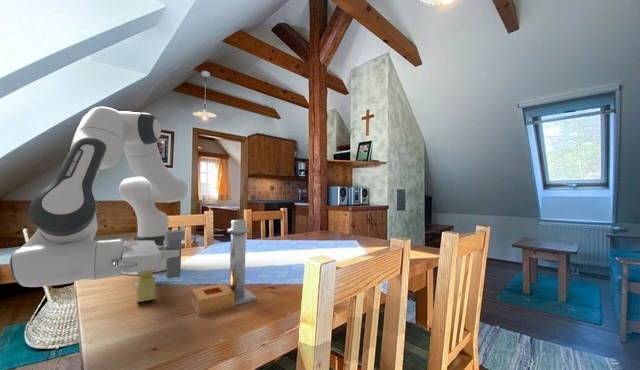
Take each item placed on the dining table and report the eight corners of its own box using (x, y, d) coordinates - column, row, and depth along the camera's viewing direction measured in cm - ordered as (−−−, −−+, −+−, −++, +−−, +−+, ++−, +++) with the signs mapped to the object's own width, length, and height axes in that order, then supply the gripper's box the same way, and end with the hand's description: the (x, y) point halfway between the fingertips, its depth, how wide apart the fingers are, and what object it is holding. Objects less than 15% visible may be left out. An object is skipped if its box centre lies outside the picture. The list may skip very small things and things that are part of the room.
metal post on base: (198, 315, 70) (200, 224, 70) (191, 303, 77) (193, 221, 78) (256, 300, 79) (257, 221, 80) (245, 291, 87) (246, 218, 88)
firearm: (153, 291, 97) (154, 250, 100) (155, 301, 73) (156, 246, 76) (139, 294, 95) (140, 251, 98) (135, 305, 70) (137, 248, 73)
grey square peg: (165, 279, 68) (166, 232, 68) (163, 275, 71) (164, 230, 71) (182, 276, 70) (184, 231, 70) (180, 272, 73) (181, 229, 74)
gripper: (111, 253, 55) (184, 245, 63) (114, 238, 71) (172, 234, 79) (110, 283, 55) (184, 272, 63) (113, 262, 71) (172, 255, 79)
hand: (177, 250), depth 71 cm, fingers closed on grey square peg, 3 cm apart
